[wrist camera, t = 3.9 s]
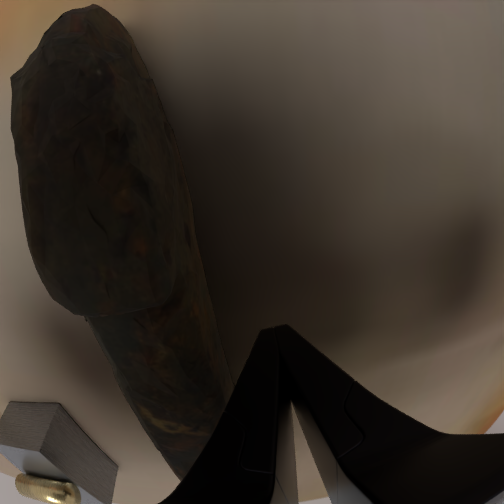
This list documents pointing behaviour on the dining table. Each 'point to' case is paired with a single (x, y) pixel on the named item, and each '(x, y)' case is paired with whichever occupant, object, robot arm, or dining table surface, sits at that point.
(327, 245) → the dining table surface
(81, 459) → the end link
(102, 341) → the hand tool
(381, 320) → the dining table surface
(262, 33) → the dining table surface
